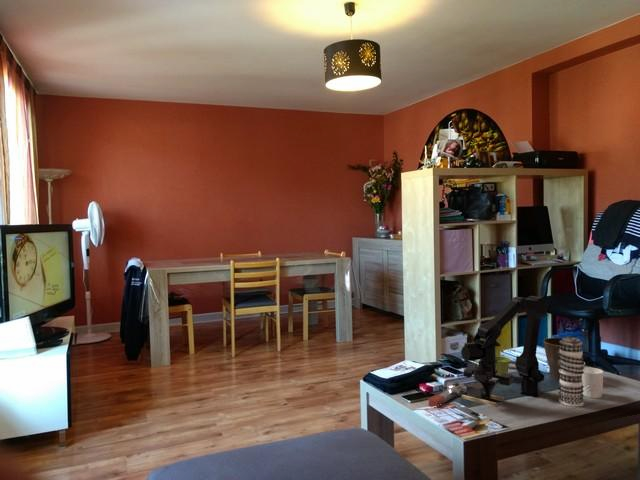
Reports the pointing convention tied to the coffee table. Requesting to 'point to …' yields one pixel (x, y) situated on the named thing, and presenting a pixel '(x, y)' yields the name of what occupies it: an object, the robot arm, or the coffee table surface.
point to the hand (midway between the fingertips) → (488, 397)
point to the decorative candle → (571, 372)
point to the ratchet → (448, 393)
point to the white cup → (592, 382)
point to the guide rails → (483, 400)
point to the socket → (475, 391)
